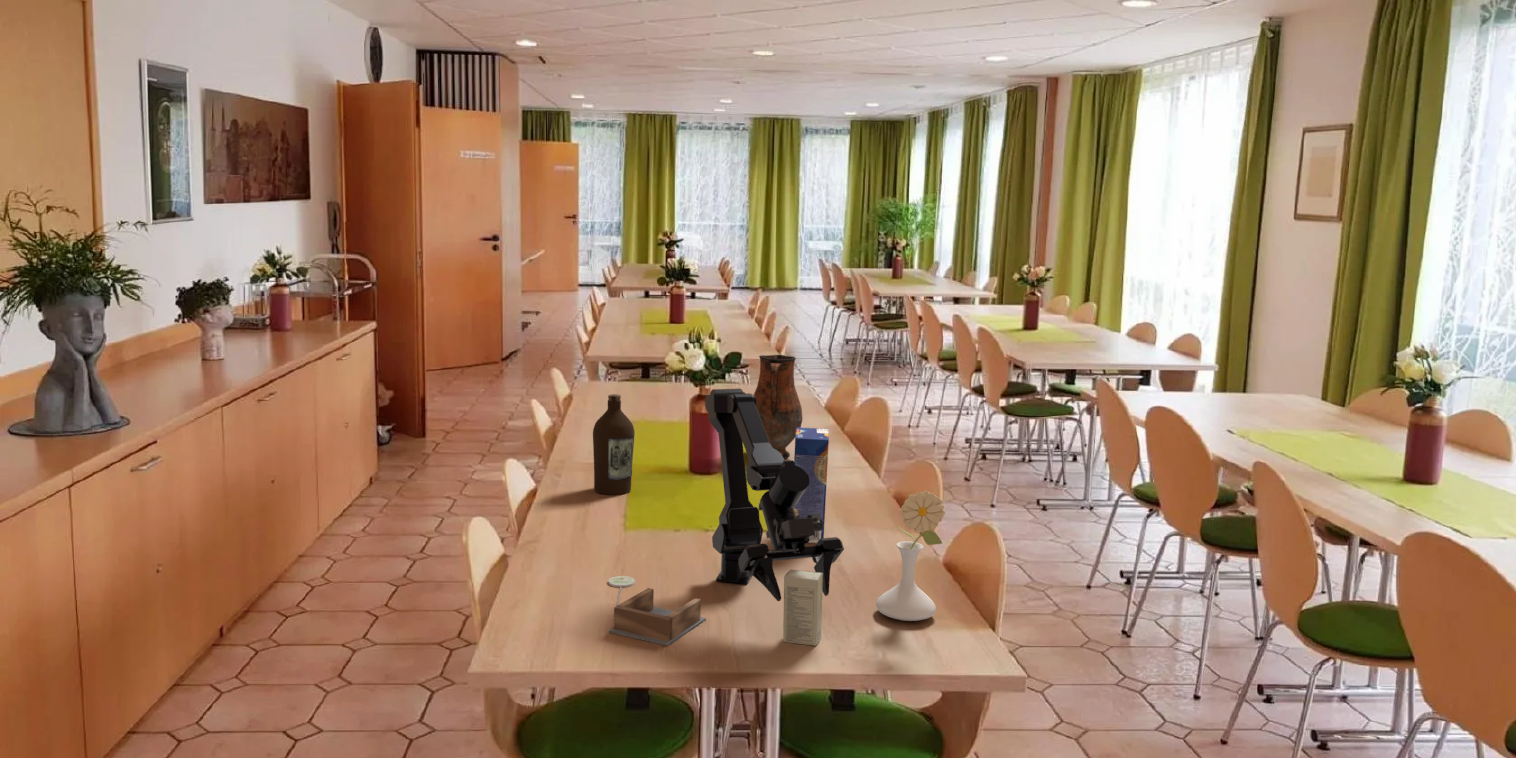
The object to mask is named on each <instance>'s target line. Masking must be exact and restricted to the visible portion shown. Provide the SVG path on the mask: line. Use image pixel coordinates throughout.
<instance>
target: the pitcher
mask: <svg viewBox="0 0 1516 758" xmlns="http://www.w3.org/2000/svg"><path fill="white" fill-rule="evenodd" d="M758 357H759V360H760V361H759V375H758V376H759V377H758V381H757V382H758V383H757V386H756V387H755V390H754V393H753V395H754V396H755V398H756V408H757V411H758V413H759V416H760V418H761V421H762V424H763V426H764V429H765V431H766V434H767V437H768V439H769V442H770V444H771V446H772V447H773V448H774V449H776V450H777V451H779V452H780V453H781V454H782V456H783V458H784V460H785V459H787V458H789V457H790V452H789V451H787V449H786V448H787V447H788V446H789V445H790V444H791V443H792V442H793V441H795V435H796V427H800V428H802V427H801V426H802V423H803V408H802V405H801V402H800V399H799V395H798V392H797V389H796V386H795V375H794V372H795V364H796V363H795V361H796V359H797V358H796V357H795V356H792V355H791V356H790V355H783V354H772V355H771V354H769V355H768V354H767V355H764V354H763V355H762V354H761V355H759V356H758Z"/></svg>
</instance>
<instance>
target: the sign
mask: <svg viewBox="0 0 1516 758" xmlns="http://www.w3.org/2000/svg"><path fill="white" fill-rule="evenodd" d="M607 583H608V585H610V587H614V588H618V595H617V599H616V604H615V606H617V605H619V601H620V596H621V592H622V588H629V587H632V586H634V585H635V583H636V580H635V578H633V577H632V576H627V575H617V576H613V577H610V578H609V579H608V582H607Z"/></svg>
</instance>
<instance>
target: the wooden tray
mask: <svg viewBox="0 0 1516 758" xmlns="http://www.w3.org/2000/svg"><path fill="white" fill-rule="evenodd" d="M654 593H655V592H654V588H650V587H647V588H646V589H644V590H642V591H640V592H639V593H637V594H635V595H633V596H632V597H630V598H628V599H627V600H626V599H625V600H624V601H622V602H621V603H618V605H615V606H614V607H613V627H614V629H617V630H621V631H625V632H630V633H634V634H638V635H642V636H646V637H651V638H655V639H659V640H663V641H668V642H669V641H670V640H672V639H673V638H675V637H676V636H678V635H679V634H681V633H682V632H683V631H685V630H686V629H688V628H689V627H691V626H692V625H694V624H695V623H697V622H698V621H700V617H701V611H702V610H701V609H702V605H701V604H702V599H701V598H696V597H695V598H692V600H690V601H688V602H686V603H685V604H683V605H682V606H680V607H679V608H677V609H676V610H673V611H674V612H672V613H671V614H669V615H668V616H663V615H659V614H654V613H650V611H652V610H653V606H654Z"/></svg>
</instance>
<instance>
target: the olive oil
mask: <svg viewBox="0 0 1516 758" xmlns="http://www.w3.org/2000/svg"><path fill="white" fill-rule="evenodd" d="M621 396H622V395H620V394H616V393H615V394H614V393H613V394H608V395H607V398H608V400H607V410H606V411H605V412H604V413H603V414H602V415H601V416H600V417H599V418H598V419H597V420H596V422H595V423H594V426H593V429H592V446H593V449H592V450H593V483H594V484H593V487H594V491H595V493H598V494H601V495H606V496H607V495H609V496H610V495H611V496H616V495H617V496H618V495H619V496H620V495H624V494H628V493H630V492H631V491H632V477H633V476H632V475H633V460H634V449H635V447H634V446H635V428H634V425H633V422H632V421H631V420H630V418H628V416H627V415H626V414H625V413H624V412H623V411H622V400H621Z"/></svg>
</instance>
